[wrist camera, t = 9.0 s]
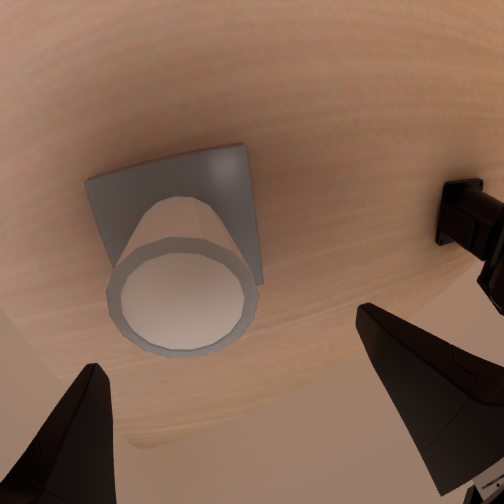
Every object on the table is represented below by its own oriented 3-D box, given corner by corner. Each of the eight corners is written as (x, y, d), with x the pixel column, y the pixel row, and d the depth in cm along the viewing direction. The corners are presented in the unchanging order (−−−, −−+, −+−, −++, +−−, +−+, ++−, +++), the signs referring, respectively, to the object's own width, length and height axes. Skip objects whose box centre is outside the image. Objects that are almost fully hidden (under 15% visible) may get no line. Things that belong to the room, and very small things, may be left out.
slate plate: (243, 142, 17) (246, 144, 16) (260, 276, 22) (263, 283, 22) (88, 178, 16) (83, 182, 15) (133, 303, 21) (131, 311, 20)
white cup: (203, 165, 17) (215, 205, 11) (250, 254, 20) (281, 324, 14) (107, 221, 17) (75, 285, 11) (164, 298, 20) (163, 375, 14)
